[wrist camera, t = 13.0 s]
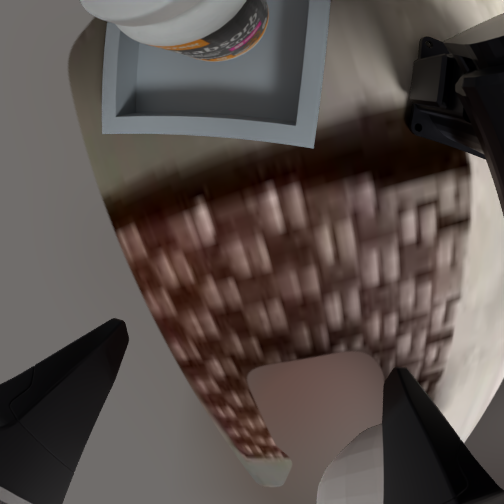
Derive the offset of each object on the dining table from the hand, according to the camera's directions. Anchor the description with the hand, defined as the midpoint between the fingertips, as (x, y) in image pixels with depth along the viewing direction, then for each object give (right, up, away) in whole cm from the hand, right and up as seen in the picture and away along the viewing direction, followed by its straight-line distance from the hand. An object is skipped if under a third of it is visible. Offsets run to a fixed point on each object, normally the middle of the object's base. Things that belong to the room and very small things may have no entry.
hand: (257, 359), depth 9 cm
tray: (-2, +17, +5) cm, 18 cm away
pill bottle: (-2, +17, +4) cm, 17 cm away
